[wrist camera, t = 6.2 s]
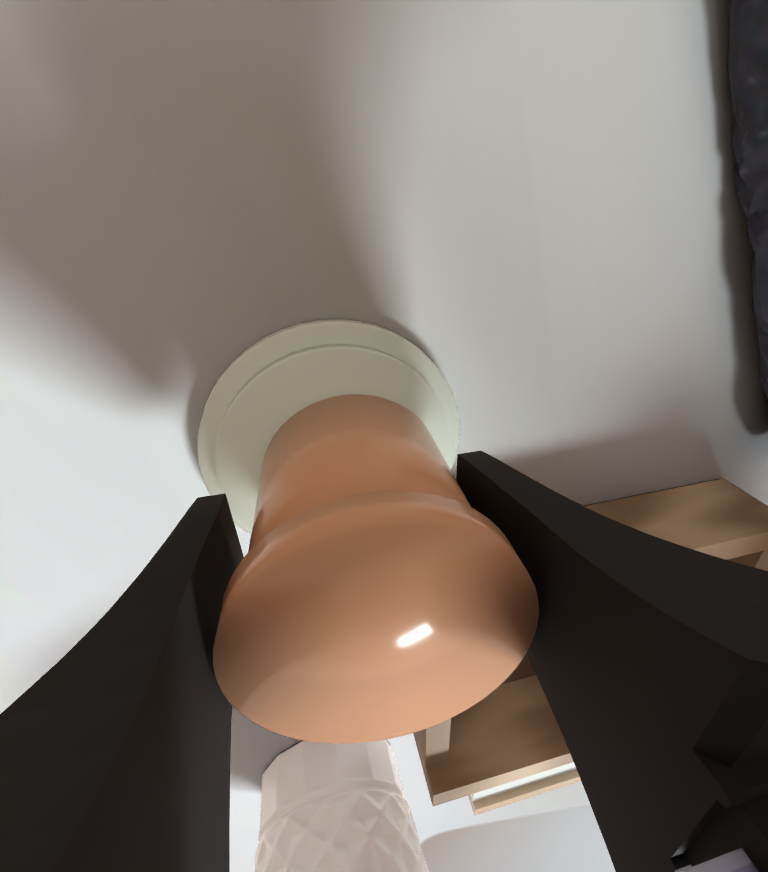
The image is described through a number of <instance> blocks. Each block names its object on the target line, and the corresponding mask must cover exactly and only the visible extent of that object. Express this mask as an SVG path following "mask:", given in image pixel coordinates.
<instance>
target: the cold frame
mask: <svg viewBox="0 0 768 872" xmlns="http://www.w3.org/2000/svg"><path fill="white" fill-rule="evenodd" d="M584 507H586V508H588V509H591V510H593V511H595V512H597V513H599V514H601V515H603V516H606V517H608V518H610V519H613V520H615V521H617V522H620V523H622V524H625V525H627V526H630V527H632V528H635V529H637V530H639V531H642V532H644V533H647V534H650V535H652V536H655V537H658V538H661V539H663V540H666V541H669V542H672V543H675V544H678V545H681V546H684V547H687V548H690V549H693V550H696V551H699V552H702V553H705V554H709V555H712V556H715V557H719V558H722V559H725V560H729V561H732V562H736V563H740V564H743V565H747V566H751V567H754V568H758V569H762V570H766V571H768V506H766V505H765V504H763V503H762V502H760V501H758V500H757V499H755V498H754V497H752V496H751V495H749V494H747V493H746V492H744V491H743V490H741V489H739V488H738V487H736V486H735V485H733V484H731V483H730V482H728V481H727V480H725V479H724V478H723V479H718V480H713V481H708V482H703V483H698V484H693V485H688V486H683V487H678V488H672V489H667V490H662V491H657V492H652V493H647V494H642V495H637V496H632V497H627V498H622V499H617V500H612V501H607V502H602V503H597V504H592V505H587V506H584ZM413 734H414V737H415V741H416V745H417V749H418V752H419V756H420V760H421V764H422V767H423V771H424V775H425V779H426V782H427V786H428V790H429V794H430V797H431V801H432V805H433V806H436V805H439V804H442V803H445V802H449V801H452V800H455V799H458V798H461V797H464V796H468V795H471V794H474V793H477V792H480V791H483V790H487V789H490V788H493V787H496V786H499V785H502V784H506V783H509V782H512V781H515V780H518V779H521V778H525V777H528V776H531V775H534V774H537V773H540V772H544V771H547V770H550V769H553V768H556V767H559V766H563V765H566V764H569V763H572V762H573V759H572V757H571V754H570V752H569V749H568V747H567V745H566V742H565V740H564V737H563V735H562V732H561V730H560V728H559V726H558V723H557V721H556V719H555V716H554V714H553V712H552V710H551V707H550V705H549V703H548V700H547V698H546V696H545V694H544V691H543V689H542V687H541V685H540V682H539V680H538V678H537V676H536V674H535V672H534V669H533V667H532V665H531V663H530V661H529V659H528V657H527V654H525V656H524V657H523V659H522V660H521V662H520V663H519V665H518V666H517V667H516V669H515V670H514V671H513V672H512V673H511V674H510V676H509V677H508V678H507V679H506V680H505V681H504V682H503V683H502V684H501V685H500V686H498V687H497V688H496V689H495V690H494V691H493V692H491V693H490V694H489V695H488V696H486V697H485V698H484V699H482V700H481V701H479V702H478V703H476V704H475V705H473V706H472V707H470V708H469V709H467V710H465V711H463V712H461V713H460V714H458V715H456V716H454V717H452V718H450V719H448V720H446V721H443V722H441V723H439V724H437V725H434V726H431V727H429V728H426V729H423V730H421V731H417V732H414V733H413Z"/></svg>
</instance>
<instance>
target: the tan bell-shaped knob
mask: <svg viewBox="0 0 768 872" xmlns="http://www.w3.org/2000/svg"><path fill="white" fill-rule="evenodd" d="M538 617H539V603H538V596H537V592H536V588H535V585H534V583H533V581H532V579H531V577H530V575H529V573H528V571H527V570H526V568H525V567H524V565H523V563H522V562H521V560H520V558H519V557H518V555H517V553H516V552H515V550H514V548H513V547H512V545H511V544H510V542H509V540H508V539H507V538H506V536H505V535H504V534H503V532H502V531H501V530H500V529H499V528H498V527H497V526H496V525H495V524H494V523H493V522H492V521H491V520H490V519H489V518H487V517H486V516H484V515H483V514H481V513H480V512H478V511H477V510H475V509H473V508H471V506H470V504H469V502H468V501H467V499H466V497H465V495H464V493H463V491H462V490H461V488H460V486H459V484H458V482H457V481H456V479H455V477H454V475H453V473H452V472H451V470H450V468H449V466H448V464H447V463H446V461H445V459H444V457H443V455H442V454H441V452H440V450H439V448H438V446H437V445H436V443H435V441H434V439H433V437H432V435H431V434H430V432H429V430H428V429H427V427H426V426H425V425H424V423H423V422H422V421H421V420H420V419H419V418H418V417H417V416H416V415H415V414H413V413H412V412H411V411H409V410H408V409H407V408H405V407H403V406H401V405H399V404H398V403H396V402H393V401H390V400H388V399H385V398H381V397H377V396H371V395H362V394H352V395H341V396H335V397H331V398H327V399H323V400H321V401H318V402H316V403H313V404H311V405H309V406H307V407H305V408H303V409H302V410H300V411H299V412H297V413H296V414H294V415H293V416H292V417H290V418H289V419H288V420H287V421H286V422H285V423H284V424H283V425H282V426H281V427H280V428H279V430H278V431H277V432H276V433H275V435H274V436H273V438H272V440H271V441H270V443H269V445H268V447H267V450H266V452H265V455H264V459H263V463H262V469H261V475H260V482H259V488H258V494H257V501H256V507H255V514H254V520H253V526H252V533H251V539H250V545H249V552H248V554H247V555H246V556H245V557H244V558H243V559H242V561H241V562H240V563H239V565H238V567H237V568H236V570H235V571H234V573H233V575H232V576H231V578H230V581H229V583H228V586H227V588H226V590H225V593H224V598H223V603H222V607H221V612H220V617H219V622H218V627H217V632H216V637H215V642H214V647H213V667H214V672H215V676H216V680H217V682H218V684H219V686H220V689H221V691H222V693H223V694H224V695H225V697H226V698H227V700H228V701H229V702H230V704H231V705H232V706H233V707H234V708H236V709H237V710H238V711H239V712H240V713H241V714H242V715H243V716H245V717H246V718H248V719H249V720H250V721H252V722H253V723H255V724H257V725H259V726H261V727H263V728H265V729H267V730H269V731H272V732H275V733H277V734H280V735H283V736H287V737H290V738H294V739H298V740H304V741H310V742H318V743H331V744H351V743H364V742H373V741H379V740H386V739H390V738H395V737H399V736H404V735H407V734H411V733H414V732H417V731H421V730H423V729H426V728H429V727H431V726H434V725H437V724H439V723H441V722H443V721H446V720H448V719H450V718H452V717H454V716H456V715H458V714H460V713H461V712H463V711H465V710H467V709H469V708H470V707H472V706H473V705H475V704H476V703H478V702H479V701H481V700H482V699H484V698H485V697H486V696H488V695H489V694H490V693H491V692H493V691H494V690H495V689H496V688H497V687H498V686H500V685H501V684H502V683H503V682H504V681H505V680H506V679H507V678H508V677H509V676H510V674H511V673H512V672H513V671H514V670H515V669H516V667H517V666H518V665H519V663H520V662H521V660H522V659H523V657H524V656H525V654H526V653H527V651H528V649H529V647H530V645H531V643H532V641H533V638H534V635H535V632H536V629H537V624H538Z"/></svg>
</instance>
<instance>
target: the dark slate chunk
mask: <svg viewBox="0 0 768 872" xmlns="http://www.w3.org/2000/svg"><path fill="white" fill-rule="evenodd" d="M728 73H729V81H730V90H731V98H732V109H733V113H734V121H733V127H732V145H733V151H734V154H735V157H736V159H737V163H736V165H735V167H734V169H733V174H734V177H735V179H736V183H737V189H738V195H739V200H740V202H741V205H742V207H743V209H744V212H745V215H746V219H747V223H748V231H749V238H750V241H751V244H752V246H753V248H754V249H753V255H752V273H753V298H752V309H753V313H754V316H755V319H756V321H757V327H758V330H757V338H758V347H759V348H760V356H759V373H760V379H761V383H762V385H763V388H764V390H765V394H766V397H767V400H768V0H730V30H729V48H728ZM751 294H752V293H751Z"/></svg>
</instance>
